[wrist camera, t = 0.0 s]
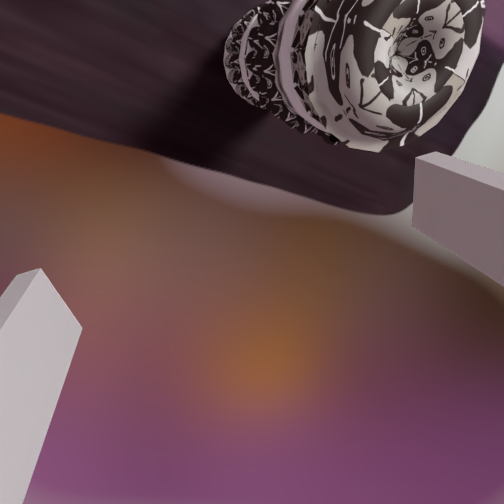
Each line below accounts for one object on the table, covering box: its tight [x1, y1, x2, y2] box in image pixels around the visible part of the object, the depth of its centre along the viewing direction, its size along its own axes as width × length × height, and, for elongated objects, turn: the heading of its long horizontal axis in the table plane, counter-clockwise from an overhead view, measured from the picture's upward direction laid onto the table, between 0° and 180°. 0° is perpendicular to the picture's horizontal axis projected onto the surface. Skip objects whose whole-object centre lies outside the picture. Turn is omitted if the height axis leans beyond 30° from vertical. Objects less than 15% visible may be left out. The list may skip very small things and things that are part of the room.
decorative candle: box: [223, 0, 485, 152], centre depth 23 cm, size 9×9×25 cm
